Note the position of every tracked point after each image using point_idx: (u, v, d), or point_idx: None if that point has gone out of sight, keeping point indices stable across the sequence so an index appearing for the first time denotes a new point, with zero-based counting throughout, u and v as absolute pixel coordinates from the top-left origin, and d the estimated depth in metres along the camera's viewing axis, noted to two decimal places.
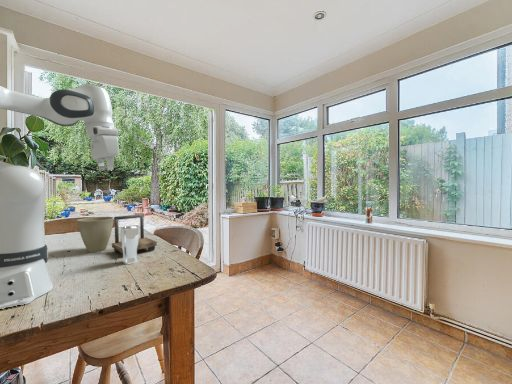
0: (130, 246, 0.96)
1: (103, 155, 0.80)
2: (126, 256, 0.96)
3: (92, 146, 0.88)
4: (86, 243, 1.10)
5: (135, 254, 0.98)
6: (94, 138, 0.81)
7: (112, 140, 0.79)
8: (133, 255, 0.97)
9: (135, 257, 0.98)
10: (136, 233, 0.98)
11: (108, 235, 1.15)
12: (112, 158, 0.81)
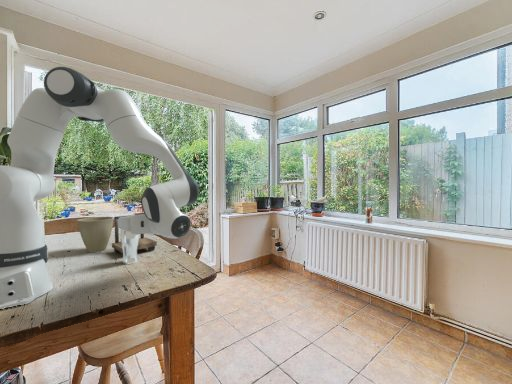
0: (130, 246, 0.96)
1: None
2: (126, 256, 0.96)
3: None
4: (86, 243, 1.10)
5: (135, 254, 0.98)
6: None
7: (124, 225, 0.76)
8: (133, 255, 0.97)
9: (135, 257, 0.98)
10: None
11: (108, 235, 1.15)
12: None
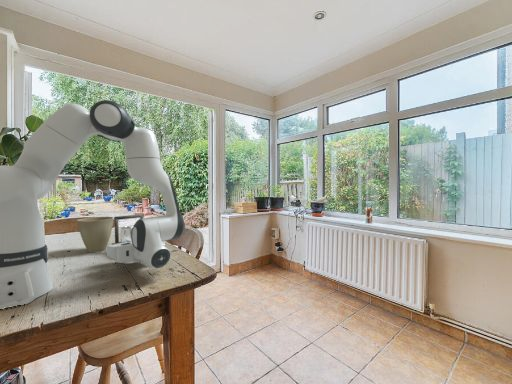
0: None
1: (118, 243, 0.91)
2: None
3: None
4: (86, 243, 1.10)
5: None
6: None
7: (112, 254, 0.85)
8: None
9: None
10: None
11: (108, 235, 1.15)
12: None
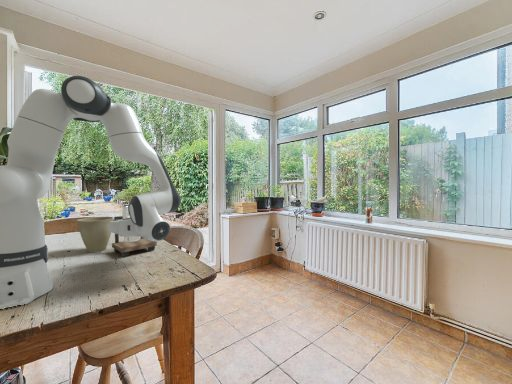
0: None
1: None
2: None
3: None
4: (86, 243, 1.10)
5: None
6: None
7: (113, 229, 0.88)
8: None
9: None
10: None
11: (108, 235, 1.15)
12: None
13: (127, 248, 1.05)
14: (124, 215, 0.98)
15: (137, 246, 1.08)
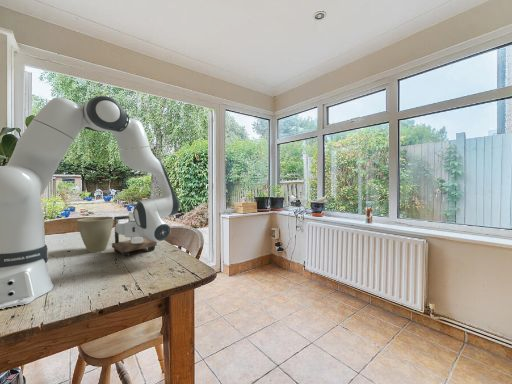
0: None
1: None
2: (133, 237, 1.10)
3: None
4: (86, 243, 1.10)
5: None
6: None
7: (120, 230, 0.99)
8: None
9: (141, 238, 1.12)
10: None
11: (108, 235, 1.15)
12: None
13: (127, 248, 1.05)
14: (130, 220, 1.09)
15: (137, 246, 1.08)
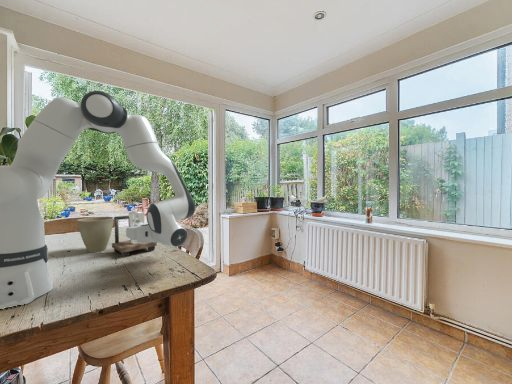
0: None
1: (137, 226, 0.96)
2: None
3: None
4: (86, 243, 1.10)
5: None
6: None
7: (131, 235, 0.90)
8: None
9: None
10: (142, 217, 1.11)
11: (108, 235, 1.15)
12: None
13: (127, 248, 1.05)
14: (130, 220, 1.09)
15: (137, 246, 1.08)
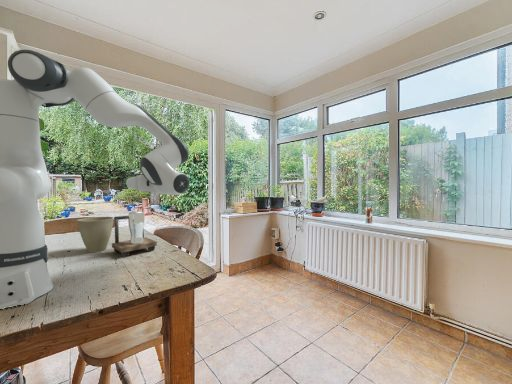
0: (137, 228, 1.10)
1: None
2: (133, 237, 1.10)
3: None
4: (86, 243, 1.10)
5: (141, 236, 1.12)
6: None
7: (132, 184, 0.88)
8: (139, 236, 1.11)
9: (141, 238, 1.12)
10: (142, 217, 1.11)
11: (108, 235, 1.15)
12: None
13: (127, 248, 1.05)
14: (130, 220, 1.09)
15: (137, 246, 1.08)
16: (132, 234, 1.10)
